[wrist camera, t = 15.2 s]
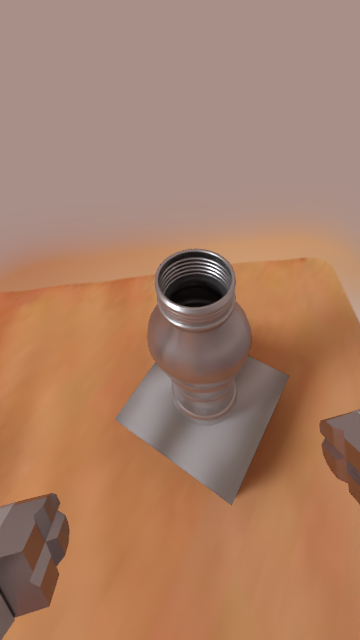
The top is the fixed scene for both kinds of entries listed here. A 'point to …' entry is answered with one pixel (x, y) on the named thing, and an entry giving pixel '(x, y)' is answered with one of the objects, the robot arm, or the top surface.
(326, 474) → the top surface
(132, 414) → the metal riser
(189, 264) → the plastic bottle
